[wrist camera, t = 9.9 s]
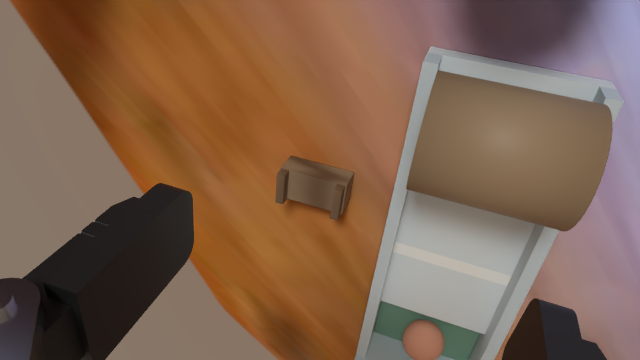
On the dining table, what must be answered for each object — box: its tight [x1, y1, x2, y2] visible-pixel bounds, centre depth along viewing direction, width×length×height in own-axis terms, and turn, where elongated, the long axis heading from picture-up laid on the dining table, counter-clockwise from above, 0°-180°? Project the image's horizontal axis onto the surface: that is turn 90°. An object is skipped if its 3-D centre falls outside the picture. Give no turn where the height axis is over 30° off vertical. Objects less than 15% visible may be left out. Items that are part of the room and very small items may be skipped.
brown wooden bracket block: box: [276, 156, 354, 220], centre depth 40 cm, size 6×3×3 cm, turn 84°
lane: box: [354, 46, 624, 360], centre depth 36 cm, size 12×32×10 cm, turn 174°
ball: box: [403, 319, 444, 360], centre depth 44 cm, size 4×4×4 cm
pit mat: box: [374, 301, 480, 360], centre depth 46 cm, size 10×6×1 cm, turn 84°
